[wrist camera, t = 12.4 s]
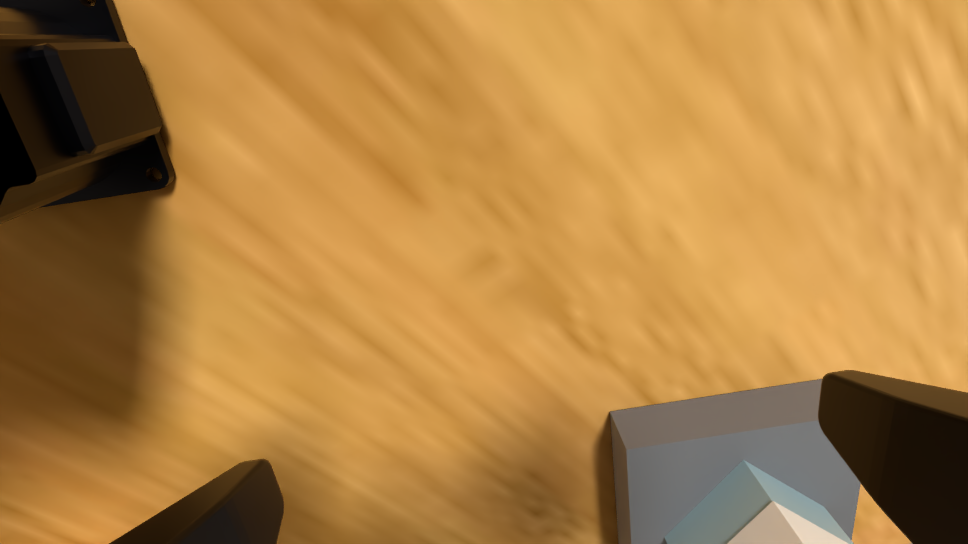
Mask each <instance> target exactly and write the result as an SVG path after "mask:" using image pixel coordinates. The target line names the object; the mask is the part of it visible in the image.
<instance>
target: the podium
mask: <svg viewBox="0 0 968 544" xmlns="http://www.w3.org/2000/svg"><path fill="white" fill-rule="evenodd" d="M821 382H822V379H819V380H813V381H806V382H799V383H793V384H786V385H780V386H773V387H767V388H760V389H754V390H747V391H741V392H734V393H728V394H721V395H715V396H708V397H702V398H695V399H689V400H682V401H676V402H669V403H663V404H656V405H650V406H643V407H637V408H630V409H624V410H617V411H611V412H610V420H611V435H612V451H613V467H614V482H615V498H616V513H617V529H618V544H667V542H666V540H665V538H664V537H665V536H666V535H667V534H668V533H669V532H670V531H671V530H672V529H673V528H674V527H675V526H676V525H677V524H678V523H680V522H681V521H682V520H683V519H684V518H685V517H686V516H687V515H688V514H689V513H690V512H691V511H692V510H693V509H694V508H695V507H696V506H697V505H698V504H699V503H700V502H701V501H702V500H703V499H704V498H705V497H706V496H707V495H708V494H709V493H710V492H711V491H712V490H713V489H714V488H715V487H716V486H717V485H718V484H719V483H720V482H721V481H722V480H723V479H724V478H725V477H726V476H727V475H728V474H729V473H730V472H731V471H732V470H733V469H734V468H735V467H737V466H738V465H739V464H740V463H741V462H742V461H743V460H745V461H746V462H748V463H750V464H751V465H753V466H755V467H757V468H758V469H760V470H762V471H763V472H765V473H767V474H769V475H770V476H772V477H774V478H775V479H777V480H779V481H781V482H782V483H784V484H786V485H787V486H789V487H791V488H793V489H794V490H796V491H798V492H800V493H801V494H803V495H805V496H806V497H808V498H810V499H812V500H813V501H815V502H817V503H818V504H820V505H822V506H824V507H825V508H826V510H827V511H828V512H829V513H830V515H831V516H832V517H833V518H834V520H835V521H836V522H837V523H838V525H839V526H840V527H841V528H842V530H843V531H844V532H845V533H846V535H847V536H848V537H849V538H850V540H852V533H853V527H854V521H855V514H856V508H857V502H858V495H859V489H860V481H859V480H858V479H857V477H856V476H855V475H854V473H853V472H852V471H851V469H850V468H849V467H848V465H847V464H846V463H845V461H844V460H843V459H842V457H841V456H840V455H839V453H838V452H837V451H836V449H835V448H834V447H833V445H832V444H831V443H830V441H829V440H828V439H827V437H826V436H825V435H824V433H823V431H822V430H821V427H820V425H819V421H818V408H819V399H820V390H821Z"/></svg>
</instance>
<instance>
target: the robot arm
mask: <svg viewBox="0 0 968 544" xmlns="http://www.w3.org/2000/svg"><path fill="white" fill-rule="evenodd" d="M161 126H162V122H161V119H160V116H159V114H158V111H157V108H156V105H155V102H154V100H153V97H152V94H151V91H150V88H149V86H148V83H147V80H146V77H145V74H144V72H143V69H142V66H141V63H140V61H139V58H138V55H137V52H136V50H135V48H133V47H132V46H131V45H129V44H128V43H127V40H126V37H125V34H124V32H123V29H122V26H121V23H120V21H119V18H118V15H117V12H116V10H115V7H114V4H113V1H112V0H96V3H95V6H93V7H92V6H91V5H89V3H88V2H87V0H0V224H1V223H3V222H5V221H8V220H10V219H13V218H15V217H17V216H20V215H22V214H25V213H27V212H29V211H32V210H34V209H37V208H39V207H46V206H52V205H59V204H65V203H72V202H78V201H85V200H91V199H98V198H104V197H111V196H118V195H124V194H131V193H137V192H144V191H150V190H157V189H161V188H163V187H166V186H167V185H169V184H170V183H171V182H172V181H173V179H174V170H173V167H172V164H171V162H170V159H169V156H168V153H167V151H166V148H165V145H164V142H163V140H162V137H161V134H160V129H161ZM152 168H156V169H158V170H159V171H160V172H161V175H162V178H161V179H157V178H155V177H154V176H153V174H152ZM818 421H819V425H820V427H821V430H822V431H823V433H824V435H825V436H826V437H827V439H828V440H829V441H830V443H831V444H832V445H833V447H834V448H835V449H836V451H837V452H838V453H839V455H840V456H841V457H842V459H843V460H844V461H845V463H846V464H847V465H848V467H849V468H850V469H851V471H852V472H853V473H854V475H855V476H856V477H857V479H858V480H859V481H860V483H861V484H862V485H863V487H864V488H865V490H866V491H867V492H868V493H869V495H870V496H871V497H872V498H873V500H874V501H875V502H876V503H877V505H878V506H879V507H880V508H881V509H882V510H883V512H884V513H885V514H886V515H887V516H888V517H889V518H890V519H891V521H892V522H893V523H894V524H895V525H896V526H897V527H898V528H899V529H900V530H901V531H902V532H903V534H904V535H905V536H906V537H907V538H908V539H909V540H910V541H911V542H912V543H913V544H968V393H966V392H961V391H956V390H951V389H946V388H941V387H936V386H931V385H926V384H920V383H915V382H910V381H905V380H900V379H895V378H890V377H885V376H880V375H875V374H870V373H865V372H860V371H854V370H845V371H838V372H832V373H827V374H826V375H825V376H824V377H823V379H822V382H821V390H820V399H819V408H818ZM283 513H284V501H283V496H282V493H281V490H280V488H279V485H278V482H277V480H276V477H275V474H274V471H273V469H272V466H271V464H270V463H269V461H268V460H266V459H257V460H251V461H244V462H242V463H239V464H238V465H236V466H234V467H233V468H231V469H229V470H228V471H226V472H225V473H223V474H221V475H220V476H218V477H216V478H215V479H213V480H212V481H210V482H208V483H207V484H205V485H203V486H202V487H200V488H199V489H197V490H195V491H194V492H192V493H191V494H189V495H187V496H186V497H184V498H182V499H181V500H179V501H178V502H176V503H174V504H173V505H171V506H169V507H168V508H166V509H165V510H163V511H161V512H160V513H158V514H156V515H155V516H153V517H152V518H150V519H148V520H147V521H145V522H144V523H142V524H140V525H139V526H137V527H135V528H134V529H132V530H131V531H129V532H127V533H126V534H124V535H122V536H121V537H119V538H118V539H116V540H114V541H113V542H111V543H109V544H276V543H277V539H278V535H279V530H280V526H281V522H282V518H283Z"/></svg>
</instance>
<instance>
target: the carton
mask: <svg viewBox="0 0 968 544" xmlns="http://www.w3.org/2000/svg"><path fill="white" fill-rule="evenodd" d="M664 538H665V540H666V542H667V544H854V543H853V542H852V541H851V540H850V538H849V537H848V536H847V535H846V533H845V532H844V531H843V530H842V528H841V527H840V526H839V525H838V523H837V522H836V521H835V520H834V518H833V517H832V516H831V515H830V513H829V512H828V511H827V510H826V508H825V507H824V506H822V505H820V504H818V503H817V502H815V501H813V500H812V499H810V498H808V497H806V496H805V495H803V494H801V493H800V492H798V491H796V490H794V489H793V488H791V487H789V486H787V485H786V484H784V483H782V482H781V481H779V480H777V479H775V478H774V477H772V476H770V475H769V474H767V473H765V472H763V471H762V470H760V469H758V468H757V467H755V466H753V465H751V464H750V463H748V462H746V461H745V460H743V461H742V462H741V463H740V464H739V465H738V466H737V467H735V468H734V469H733V470H732V471H731V472H730V473H729V474H728V475H727V476H726V477H725V478H724V479H723V480H722V481H721V482H720V483H719V484H718V485H717V486H716V487H715V488H714V489H713V490H712V491H711V492H710V493H709V494H708V495H707V496H706V497H705V498H704V499H703V500H702V501H701V502H700V503H699V504H698V505H697V506H696V507H695V508H694V509H693V510H692V511H691V512H690V513H689V514H688V515H687V516H686V517H685V518H684V519H683V520H682V521H681V522H680V523H678V524H677V525H676V526H675V527H674V528H673V529H672V530H671V531H670V532H669V533H668V534H667V535H666V536H665V537H664Z"/></svg>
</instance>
